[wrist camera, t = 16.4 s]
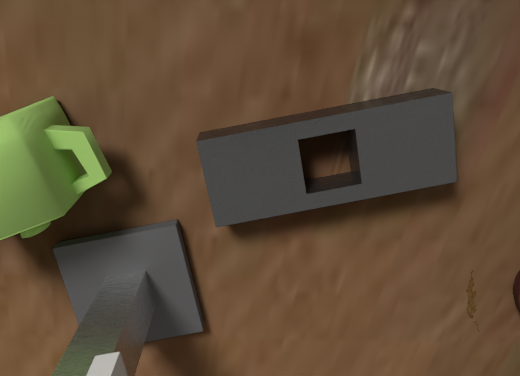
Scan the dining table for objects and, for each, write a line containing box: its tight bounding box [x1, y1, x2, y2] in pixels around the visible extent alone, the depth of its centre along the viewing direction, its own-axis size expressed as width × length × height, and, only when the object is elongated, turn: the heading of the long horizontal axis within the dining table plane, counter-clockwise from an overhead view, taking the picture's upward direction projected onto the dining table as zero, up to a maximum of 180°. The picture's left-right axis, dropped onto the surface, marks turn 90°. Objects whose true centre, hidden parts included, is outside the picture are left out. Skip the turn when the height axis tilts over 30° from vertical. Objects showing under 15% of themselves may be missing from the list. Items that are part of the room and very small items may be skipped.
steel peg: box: [52, 270, 156, 376], centre depth 39 cm, size 4×4×15 cm
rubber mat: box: [52, 219, 204, 342], centre depth 47 cm, size 12×12×2 cm
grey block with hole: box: [196, 88, 457, 227], centre depth 42 cm, size 8×22×4 cm, turn 100°
